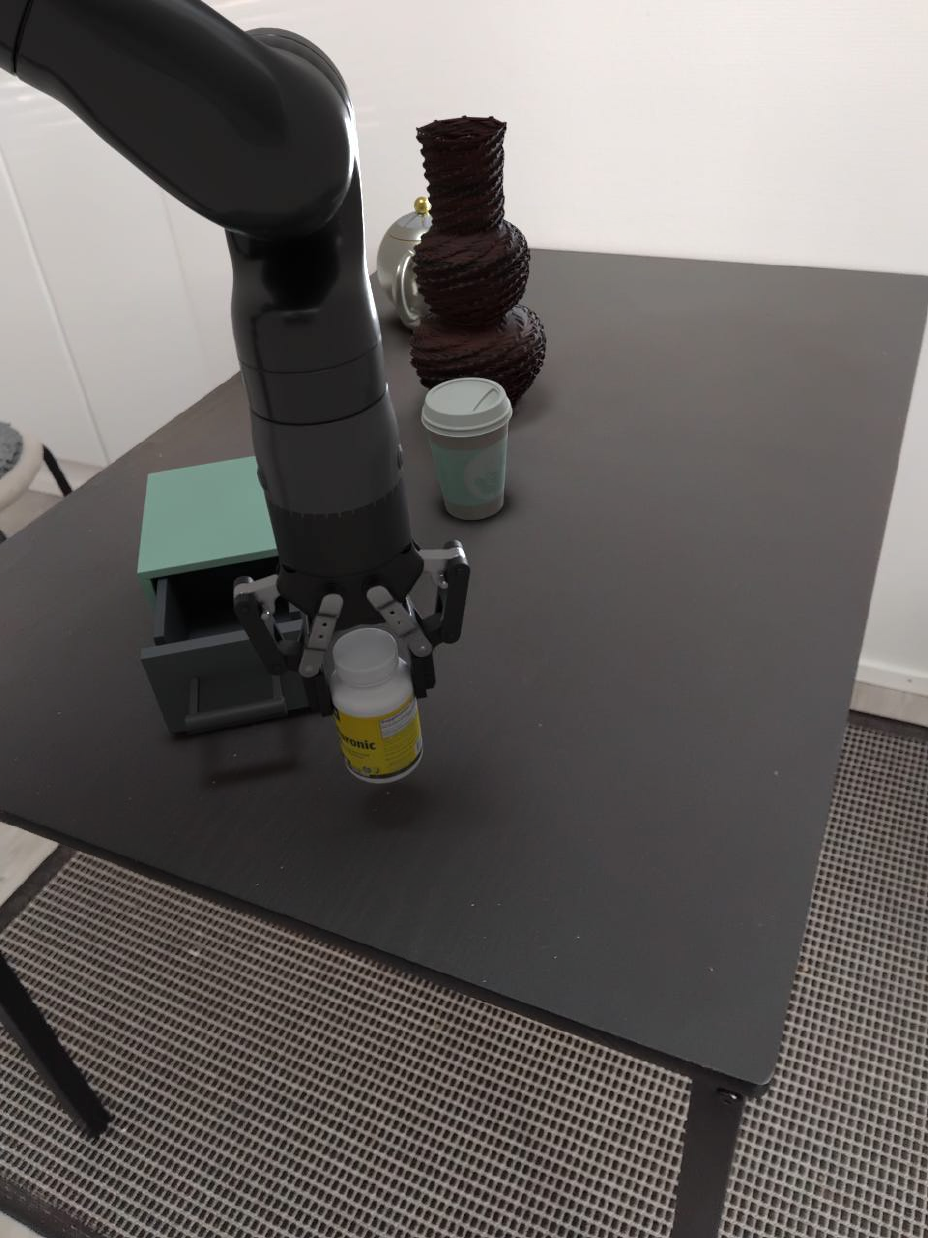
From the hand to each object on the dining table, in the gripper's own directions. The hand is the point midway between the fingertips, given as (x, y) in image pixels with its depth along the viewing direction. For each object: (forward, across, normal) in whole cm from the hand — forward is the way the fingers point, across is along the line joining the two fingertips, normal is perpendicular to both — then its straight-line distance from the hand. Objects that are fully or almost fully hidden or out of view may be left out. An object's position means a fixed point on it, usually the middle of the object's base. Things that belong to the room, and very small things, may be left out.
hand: (373, 697), depth 63 cm
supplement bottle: (+6, 0, 0) cm, 6 cm away
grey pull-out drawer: (+10, +10, -15) cm, 21 cm away
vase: (+10, -18, -56) cm, 60 cm away
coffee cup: (+11, -13, -36) cm, 40 cm away
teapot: (+10, -16, -81) cm, 83 cm away
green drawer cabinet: (+11, +10, -28) cm, 32 cm away
